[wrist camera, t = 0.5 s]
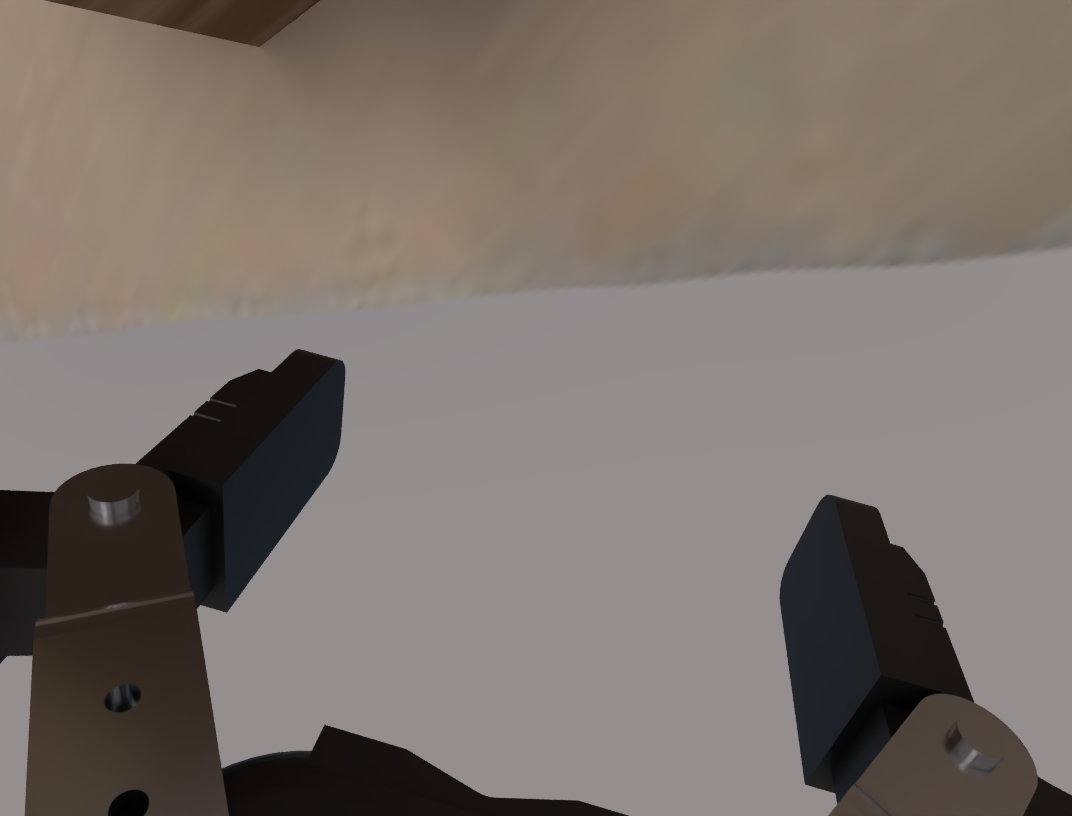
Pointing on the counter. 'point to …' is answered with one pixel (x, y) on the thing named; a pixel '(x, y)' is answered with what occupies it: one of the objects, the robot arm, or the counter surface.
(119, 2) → the zigzag wood block
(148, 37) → the counter surface
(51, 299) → the counter surface
